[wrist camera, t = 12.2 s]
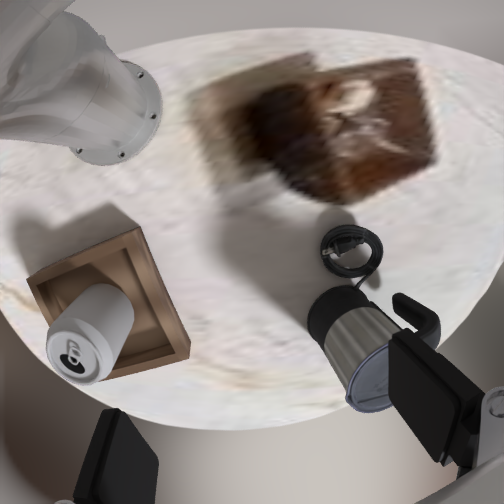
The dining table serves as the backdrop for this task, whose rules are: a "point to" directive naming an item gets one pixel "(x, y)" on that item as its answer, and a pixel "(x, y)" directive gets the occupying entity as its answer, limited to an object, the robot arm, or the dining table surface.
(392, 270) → the dining table surface
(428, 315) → the milk frother
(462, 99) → the dining table surface
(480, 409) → the robot arm
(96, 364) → the can
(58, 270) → the tray
